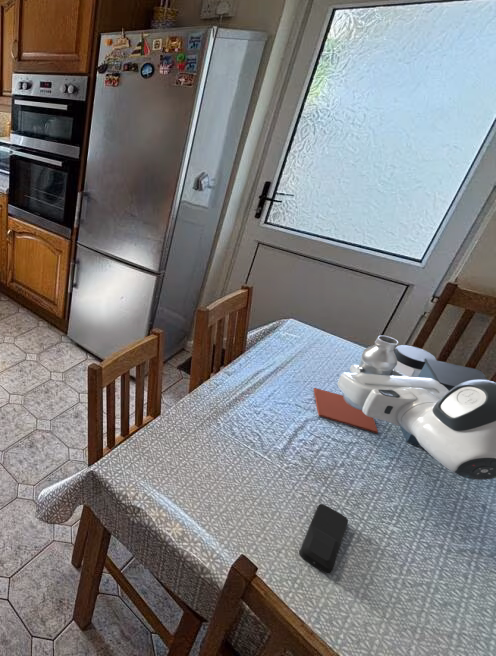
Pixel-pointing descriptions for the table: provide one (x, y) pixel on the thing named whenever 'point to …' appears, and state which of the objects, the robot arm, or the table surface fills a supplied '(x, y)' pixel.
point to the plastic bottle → (377, 360)
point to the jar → (411, 360)
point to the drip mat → (342, 411)
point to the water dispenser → (444, 380)
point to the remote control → (324, 538)
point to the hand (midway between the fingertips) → (369, 368)
